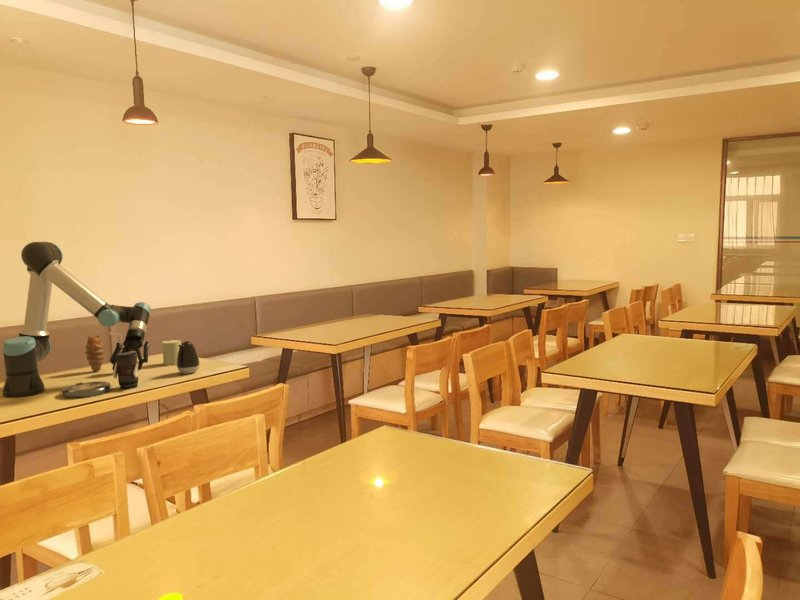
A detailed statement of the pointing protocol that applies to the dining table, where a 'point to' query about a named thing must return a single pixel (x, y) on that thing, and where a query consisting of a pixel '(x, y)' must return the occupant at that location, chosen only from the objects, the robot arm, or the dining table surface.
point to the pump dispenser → (187, 358)
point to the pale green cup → (170, 351)
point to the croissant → (95, 352)
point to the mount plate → (86, 389)
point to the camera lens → (126, 370)
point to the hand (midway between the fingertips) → (124, 376)
